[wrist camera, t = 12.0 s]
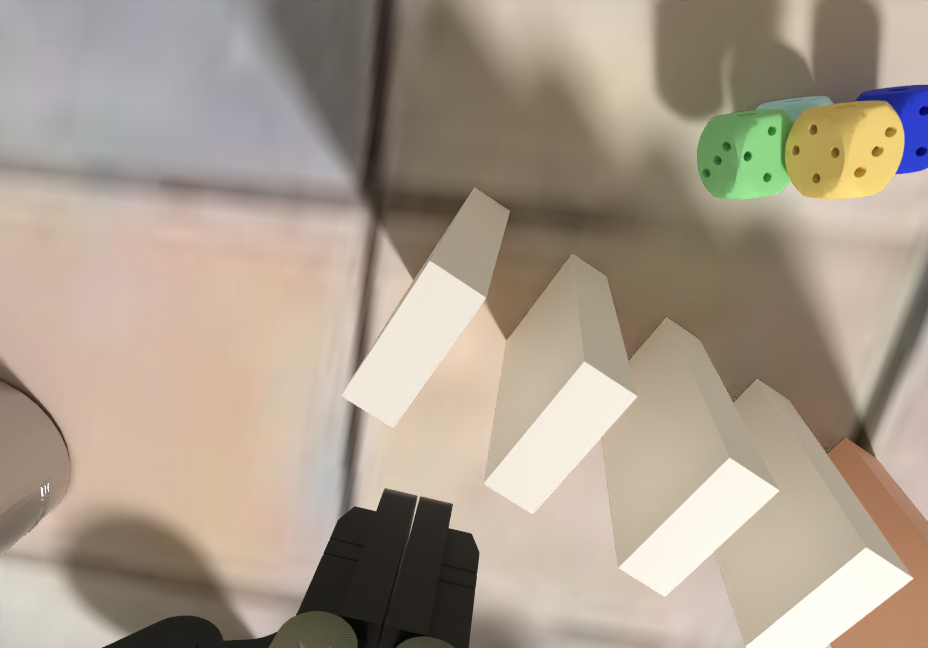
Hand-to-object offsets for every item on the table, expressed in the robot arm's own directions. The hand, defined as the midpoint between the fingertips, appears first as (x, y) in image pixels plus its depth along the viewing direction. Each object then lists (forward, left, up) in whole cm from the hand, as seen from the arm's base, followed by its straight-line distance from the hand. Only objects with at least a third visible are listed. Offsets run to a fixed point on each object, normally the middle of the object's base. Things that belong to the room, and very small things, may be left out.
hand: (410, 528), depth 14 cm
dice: (+6, +12, -17) cm, 21 cm away
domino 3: (+8, +1, -16) cm, 18 cm away
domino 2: (+3, +1, -16) cm, 17 cm away
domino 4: (+13, +1, -16) cm, 21 cm away
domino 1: (-2, +1, -16) cm, 17 cm away
